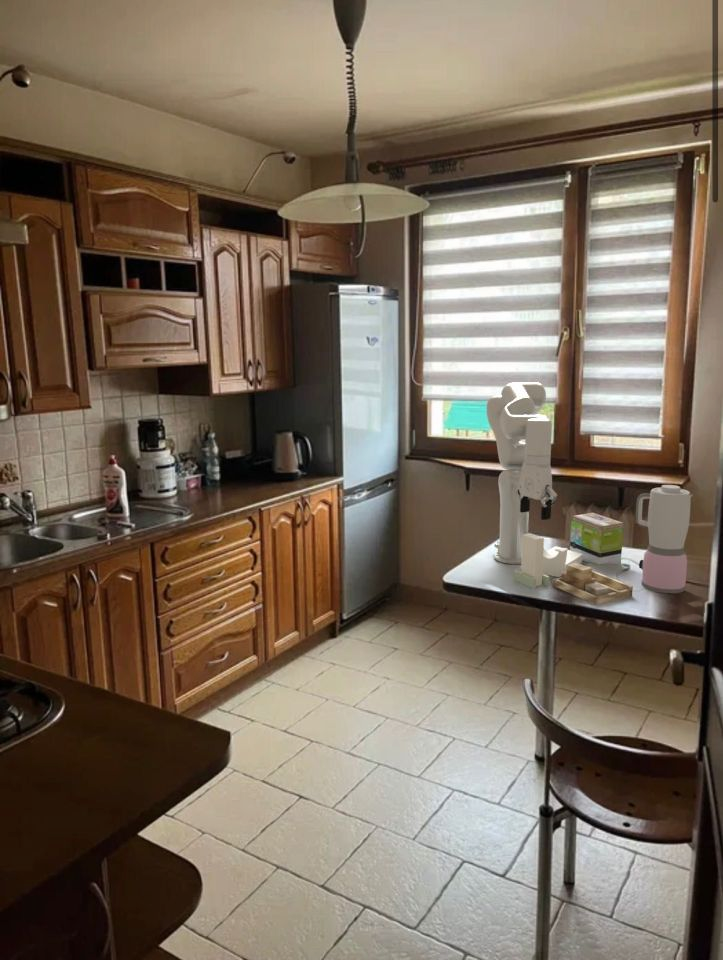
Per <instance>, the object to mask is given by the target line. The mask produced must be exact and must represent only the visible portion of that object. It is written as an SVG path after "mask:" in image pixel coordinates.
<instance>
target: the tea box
mask: <svg viewBox="0 0 723 960" xmlns="http://www.w3.org/2000/svg"><path fill="white" fill-rule="evenodd" d="M570 523H571V524H570V539H569V540H570V541H569V550H570V551H574V552H577V553H581V554H583V558H582V562H586V563H594V564H597V565H603V564H610V565H613V566H615V565H618V564H621V563H622V550H623V537H624V522H623V521H619V520H616V519H614V518H610V517H607V516H604V515H601V514H599V513H595V512H587V513H583V514H577V515H571V520H570Z"/></svg>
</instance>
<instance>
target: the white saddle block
mask: <svg viewBox="0 0 723 960" xmlns="http://www.w3.org/2000/svg"><path fill="white" fill-rule="evenodd" d="M544 547H545V546H544ZM544 547H543V570H542V573H543V574H545V575H547V576H551V577H556V578H560V577H562V573H565V572H566V570H567V565H569V564H573V563H578V564H581V565H582V564H583V563H582V562H583V560H582V558H583V554H581V553H577V552H574V551H570V549H568V548H567V547H560V546H553V547H551V548H549V549H548V550H547V551H546V549H545V548H544Z"/></svg>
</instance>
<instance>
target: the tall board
mask: <svg viewBox="0 0 723 960" xmlns="http://www.w3.org/2000/svg"><path fill="white" fill-rule="evenodd" d="M544 542H545V539H544V537H542V536H539V535H536V534H534V533H531V532H528V533H527V534H522V556H521V564H520V572H521V573H523V574H526V575H528V576H530V577H532V578H534V579H536V587H537V586H543V584H542V570H543V547H545V546H544Z"/></svg>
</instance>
